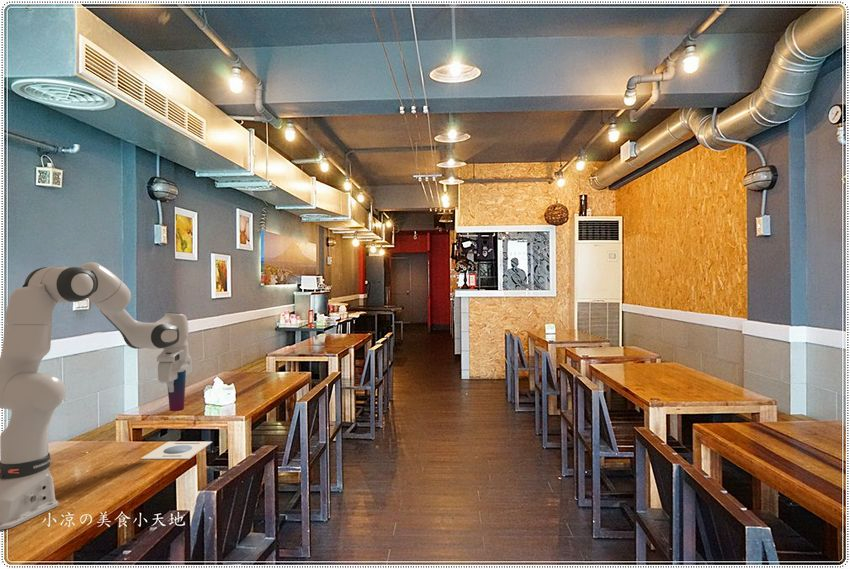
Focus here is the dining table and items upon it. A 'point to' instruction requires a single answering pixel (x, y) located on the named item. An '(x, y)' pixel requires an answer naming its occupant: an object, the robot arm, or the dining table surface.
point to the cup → (178, 393)
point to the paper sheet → (176, 450)
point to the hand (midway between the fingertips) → (176, 389)
